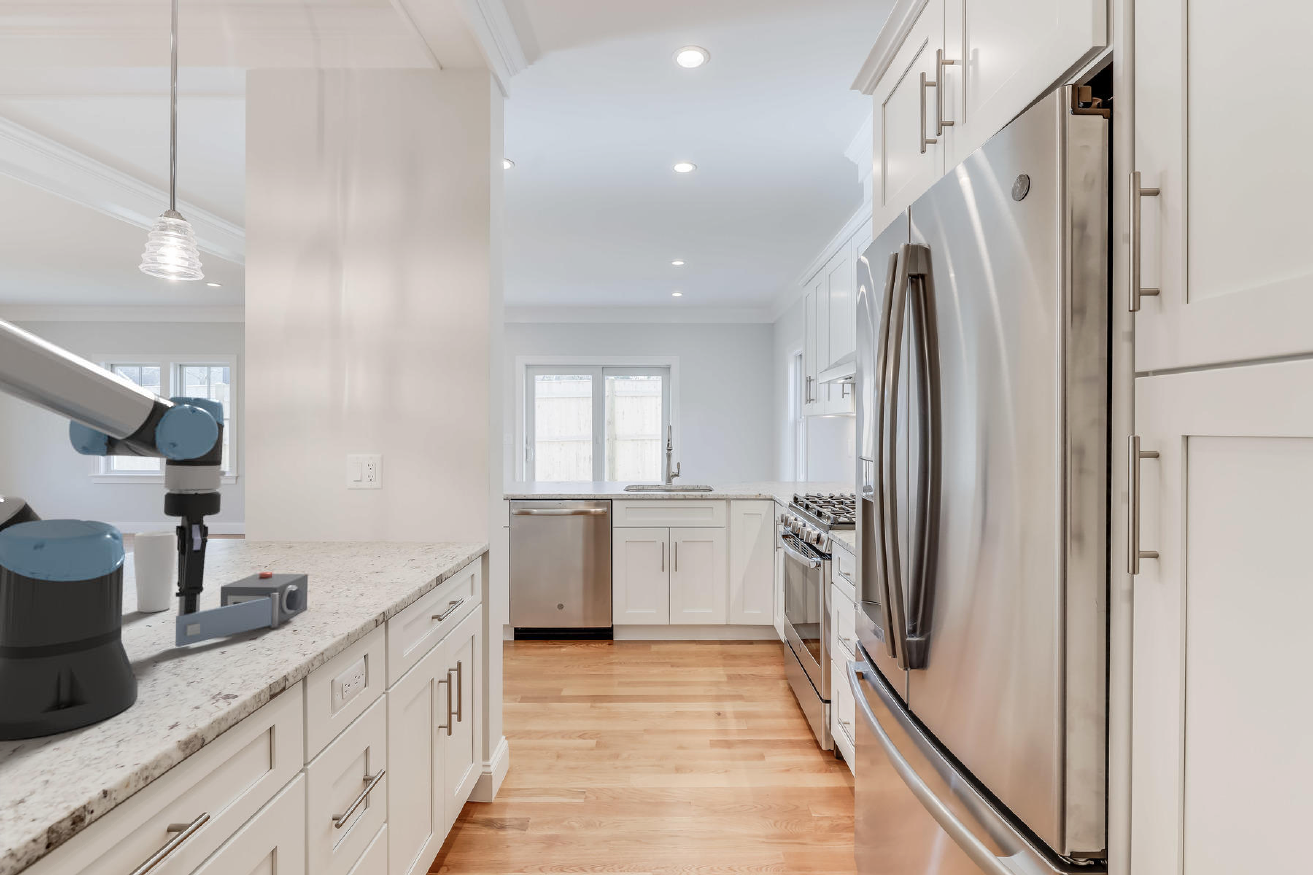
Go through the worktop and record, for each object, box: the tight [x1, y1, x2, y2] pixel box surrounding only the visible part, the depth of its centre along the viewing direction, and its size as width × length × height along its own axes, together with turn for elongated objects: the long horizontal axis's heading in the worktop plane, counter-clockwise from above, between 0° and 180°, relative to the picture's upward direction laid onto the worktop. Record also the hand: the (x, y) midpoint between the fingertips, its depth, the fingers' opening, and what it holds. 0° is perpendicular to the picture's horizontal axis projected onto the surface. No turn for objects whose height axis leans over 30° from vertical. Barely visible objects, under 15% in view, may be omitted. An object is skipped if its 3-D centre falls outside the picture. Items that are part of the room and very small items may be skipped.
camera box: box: [220, 571, 309, 627], centre depth 121 cm, size 11×12×8 cm
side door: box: [175, 593, 279, 648], centre depth 109 cm, size 2×16×6 cm, turn 150°
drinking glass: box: [133, 530, 178, 614], centre depth 125 cm, size 7×7×15 cm
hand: (188, 633), depth 105 cm, fingers closed
